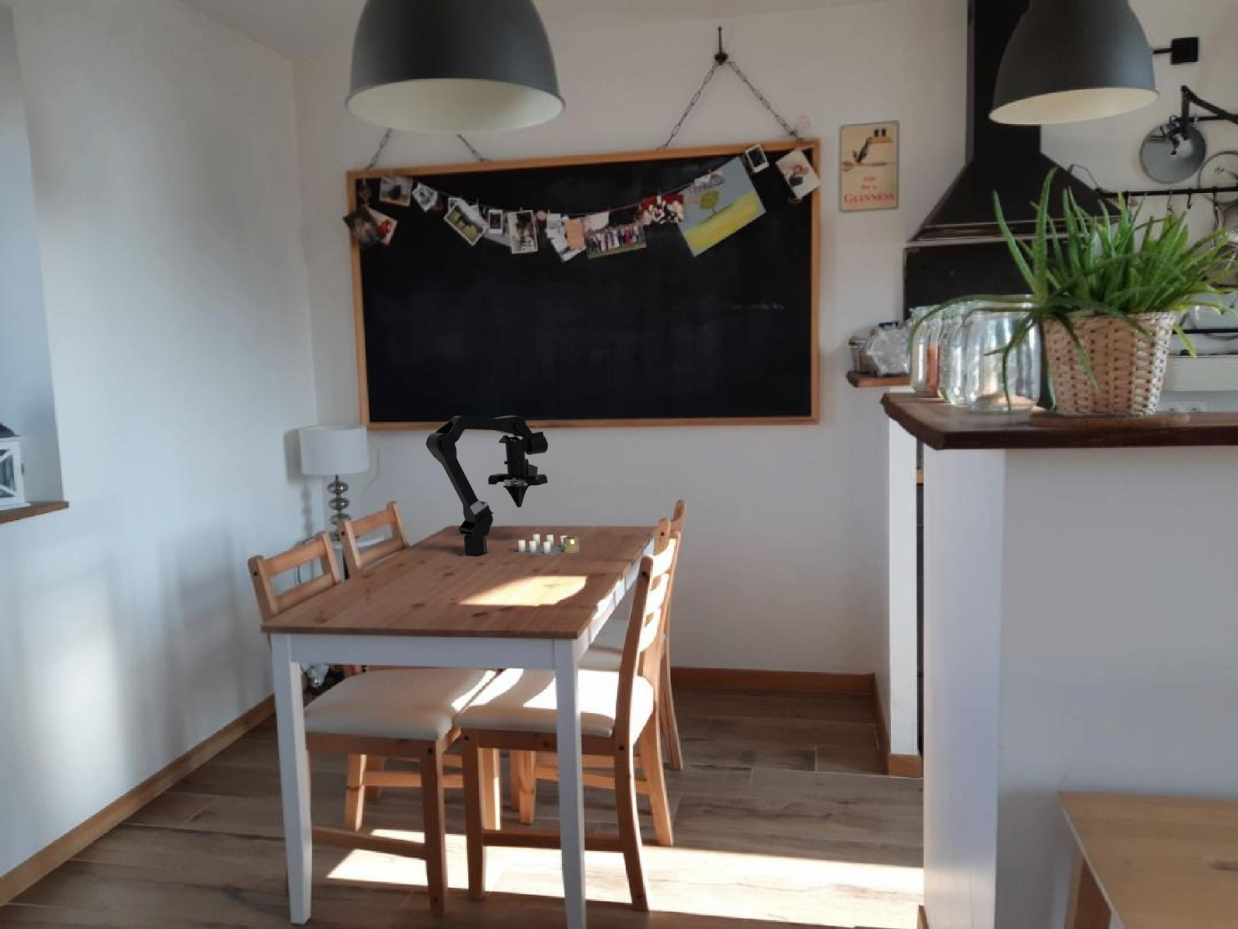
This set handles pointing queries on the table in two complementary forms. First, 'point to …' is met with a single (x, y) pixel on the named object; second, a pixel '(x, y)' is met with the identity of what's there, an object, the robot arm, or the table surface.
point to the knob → (571, 544)
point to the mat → (540, 550)
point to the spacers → (536, 542)
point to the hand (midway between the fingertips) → (519, 507)
